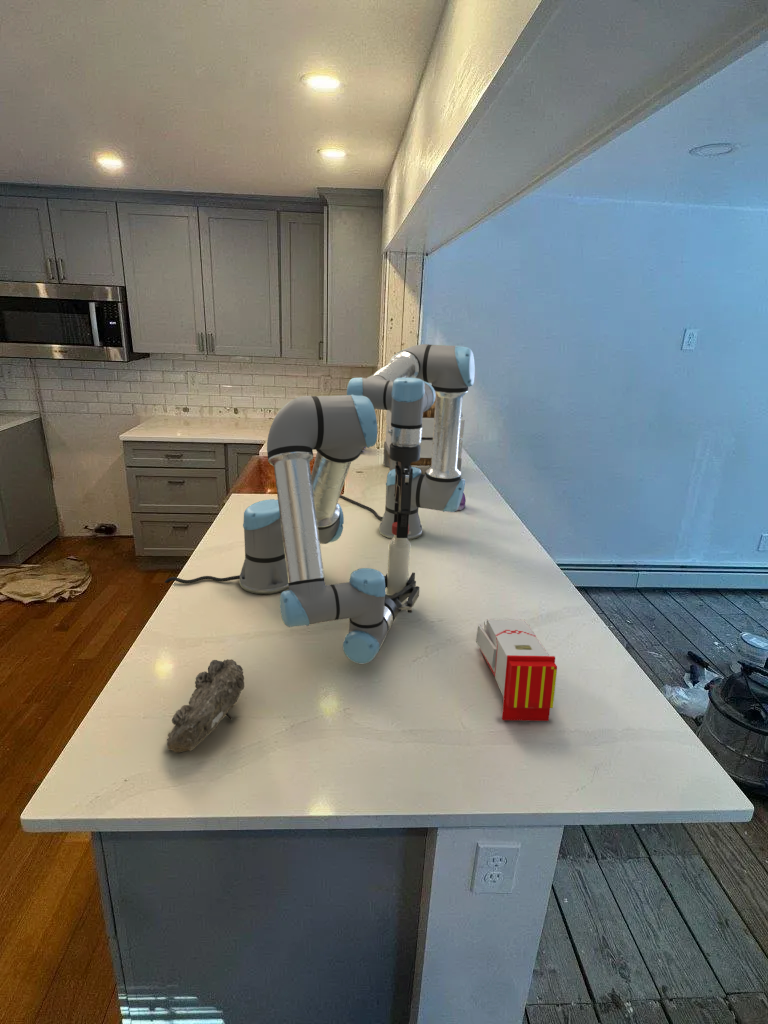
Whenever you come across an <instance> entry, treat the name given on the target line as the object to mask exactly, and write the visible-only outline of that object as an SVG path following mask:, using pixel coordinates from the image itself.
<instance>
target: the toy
mask: <svg viewBox="0 0 768 1024" xmlns="http://www.w3.org/2000/svg"><path fill="white" fill-rule="evenodd" d="M476 629H477V631H476V638H475V642H476V645H477V646H478V648H479V650H480V652H481V654H482V656H483V658H484V660H485V661H486V664H487V666H488V668H489V669H490V671H491V672H492V675H493V676H494V679H495V681H496V685H497V686H498V688H499V690H500V692H501V695H502V697H503V701H502V712H501V720H502V721H521V722H523V721H526V722H528V721H529V722H550V712H551V709H554V702H555V692H556V681H557V673H558V665H557V664H556V656H555V655H550V654H549V652H548V651H547V650H546V648H545V647H544V645H543V644H542V642H541V641H540V639H539V638H538V637H537V635H536V634H535V632H534V631H533V629H532V627H531V625H530V624H528V623H527V621H526V619H521V618H518V619H515V618H513V619H512V618H486V620H484V621H483V626H482V625H481V624H477V628H476Z"/></svg>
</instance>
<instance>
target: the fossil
mask: <svg viewBox="0 0 768 1024" xmlns="http://www.w3.org/2000/svg"><path fill="white" fill-rule="evenodd" d="M243 670H244V669H243V667H242V665H240V664H237V662H236V661H235V660H234V659H232V658H231V659H227V658H226V659H224V660H223V661H222V660H217V659H212V660H211V661H210V663H209V665H208V666H207V671H201V672H199V673H198V674H197V675H196V676H195V680H194V684H195V685H194V687H195V689H194V690H193V693H192V694H191V697H190V698H189V700H188V704H184V705H182V706H181V707H180V709H177V710H176V711H175V713H174V715H173V716H172V718H171V723H172V724H173V727H172V730H171V731H170V732H168V734H167V738H166V741H167V742H166V745H167V749H168V750H169V751H173V752H174V753H176V754H178V753H182V752H188V751H189V752H192V751H193V750H195V748H196V747H197V746H199V744H200V743H201V742H203V741H204V740H205V739H206V738H207V737H208V736H209V735H210V734H211V733H212V732H214V730H215V729H217V727H218V726H219V724H220V722H221V721H222V720H223V719H224V718H225V716H226V717H227V719H229V720H233V717H232V715H230V714H229V710H230V709H231V708H234V706H235V704H236V703H237V702H238V699H239V697H240V695H241V693H242V691H243V690H245V689H244V688H245V675H244V671H243Z"/></svg>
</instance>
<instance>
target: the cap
mask: <svg viewBox="0 0 768 1024" xmlns="http://www.w3.org/2000/svg"><path fill="white" fill-rule="evenodd" d="M392 534H394V535H397V522H395V523H393V524H392ZM408 534H409V524H408Z"/></svg>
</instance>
